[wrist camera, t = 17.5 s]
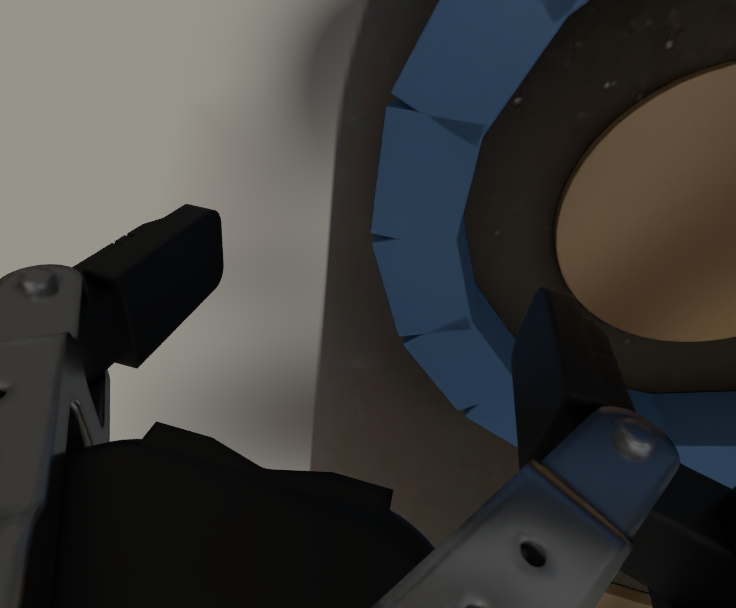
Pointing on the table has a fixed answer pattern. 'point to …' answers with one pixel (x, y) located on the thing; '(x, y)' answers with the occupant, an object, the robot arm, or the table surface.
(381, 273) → the hoop
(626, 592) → the dowel stand
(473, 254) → the table surface
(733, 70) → the cork coaster
